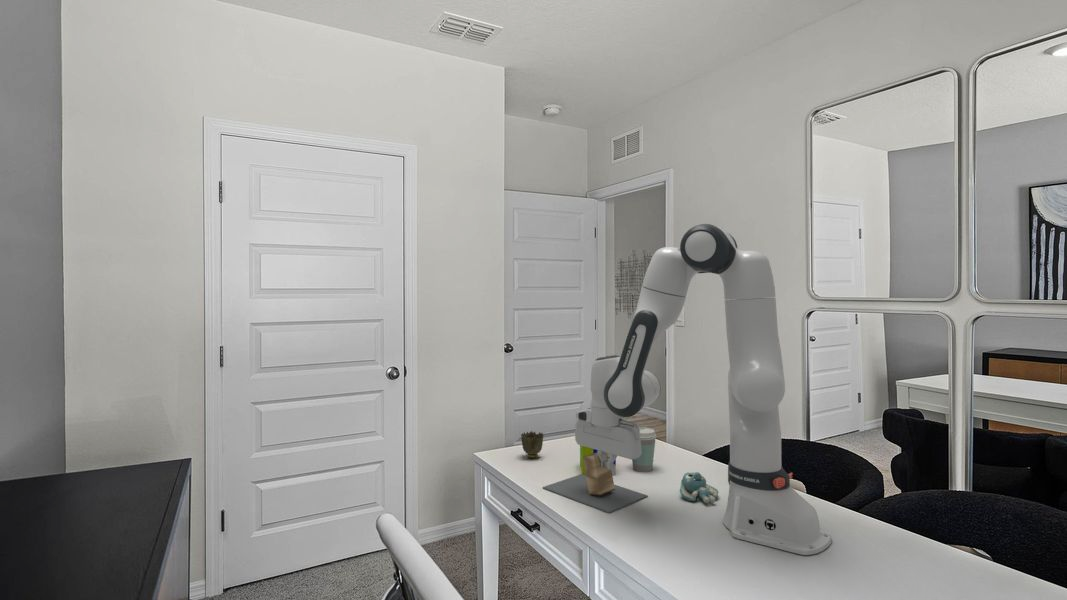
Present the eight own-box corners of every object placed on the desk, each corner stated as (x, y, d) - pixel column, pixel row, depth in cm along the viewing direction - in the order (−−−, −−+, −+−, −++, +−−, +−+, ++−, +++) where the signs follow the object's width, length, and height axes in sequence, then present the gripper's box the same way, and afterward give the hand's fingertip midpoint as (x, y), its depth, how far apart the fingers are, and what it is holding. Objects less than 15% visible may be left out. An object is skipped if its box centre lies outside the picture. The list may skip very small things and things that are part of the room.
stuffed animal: (693, 488, 136) (671, 464, 148) (690, 514, 138) (668, 489, 149) (731, 484, 139) (706, 461, 150) (728, 509, 140) (704, 485, 151)
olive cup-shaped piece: (547, 456, 181) (547, 432, 181) (536, 462, 175) (536, 437, 175) (529, 453, 185) (528, 430, 185) (517, 459, 179) (516, 434, 179)
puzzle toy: (615, 475, 162) (615, 442, 162) (582, 475, 162) (582, 442, 162) (611, 465, 172) (611, 433, 172) (580, 465, 172) (579, 433, 172)
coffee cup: (655, 464, 172) (654, 427, 172) (658, 473, 163) (658, 433, 163) (627, 464, 173) (627, 426, 172) (629, 473, 164) (629, 433, 164)
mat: (647, 496, 145) (648, 495, 145) (609, 513, 134) (609, 512, 134) (581, 475, 162) (581, 473, 162) (542, 488, 152) (542, 487, 152)
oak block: (615, 489, 147) (608, 451, 148) (600, 495, 143) (593, 456, 144) (604, 489, 149) (597, 452, 151) (589, 494, 145) (582, 456, 147)
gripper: (646, 421, 139) (646, 475, 139) (586, 408, 154) (586, 457, 154) (631, 425, 134) (631, 480, 135) (571, 411, 150) (571, 461, 150)
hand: (607, 468), depth 144 cm, fingers closed
